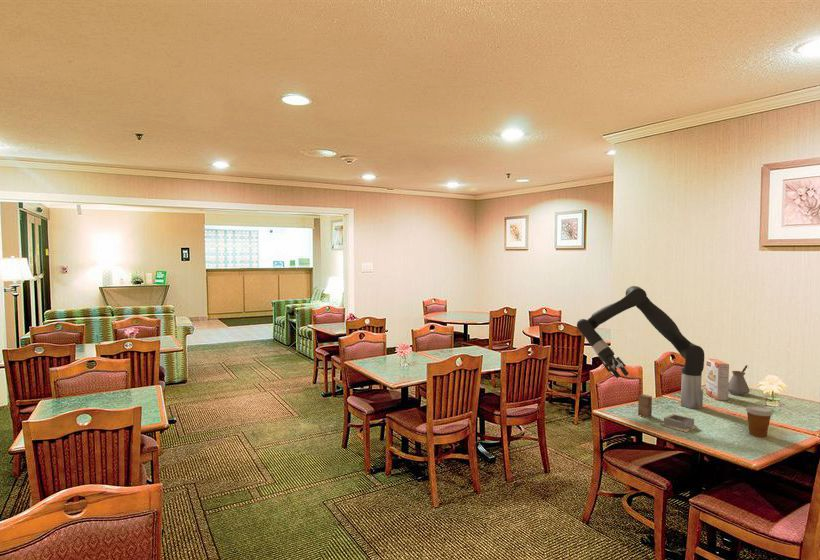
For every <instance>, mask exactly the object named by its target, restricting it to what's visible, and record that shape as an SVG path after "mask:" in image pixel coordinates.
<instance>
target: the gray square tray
mask: <svg viewBox="0 0 820 560" xmlns="http://www.w3.org/2000/svg"><path fill="white" fill-rule="evenodd" d="M661 426H662V427H666V428H668V427H669V429H672V428H673V429H672V430H676V429H677V431H679V430H680V431H679V432H683V431H684V433H688V432H690V431H692V430H694V429H696V428H697V427H698V426H697V424H695V419H694V418H691V417H687V416H683V415H679V414H674V413H672V414H669V415H668V416H665V417H663V422H662V423H661Z"/></svg>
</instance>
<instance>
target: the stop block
mask: <svg viewBox="0 0 820 560" xmlns="http://www.w3.org/2000/svg"><path fill="white" fill-rule="evenodd" d="M637 403H638V408H637V409H638V410H637V416H638V415H641V416H640V417H642V416H644V417H643V418H646V417H648V418H649V416H650V417H652V409H653V396H652V395H648V394H644V393H643V394H640V395H638V402H637Z"/></svg>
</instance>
